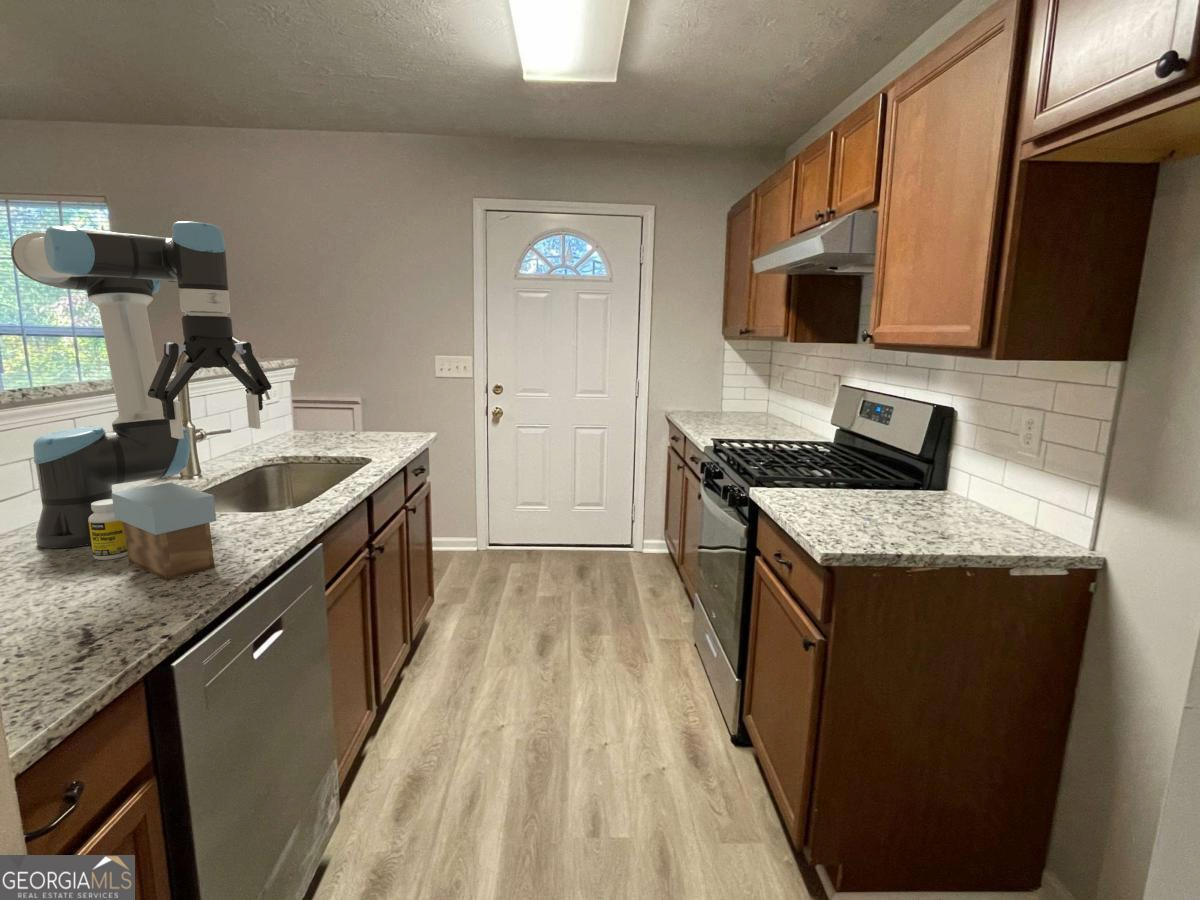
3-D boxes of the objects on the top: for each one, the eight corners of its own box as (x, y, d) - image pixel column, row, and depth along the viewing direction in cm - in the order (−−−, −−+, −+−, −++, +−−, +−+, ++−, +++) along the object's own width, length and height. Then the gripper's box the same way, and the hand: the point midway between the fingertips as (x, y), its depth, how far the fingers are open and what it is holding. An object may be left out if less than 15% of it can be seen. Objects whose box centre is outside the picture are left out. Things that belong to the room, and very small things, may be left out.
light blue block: (115, 524, 117) (111, 492, 116) (174, 512, 125) (170, 482, 124) (156, 541, 108) (152, 507, 107) (217, 526, 116) (213, 495, 115)
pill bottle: (89, 562, 119) (81, 507, 117) (97, 552, 124) (89, 499, 122) (129, 557, 121) (122, 503, 119) (135, 548, 127) (128, 496, 125)
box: (128, 562, 119) (122, 517, 117) (174, 550, 126) (169, 508, 124) (167, 580, 110) (161, 532, 109) (214, 567, 117) (209, 521, 115)
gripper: (135, 313, 97) (151, 445, 101) (285, 316, 118) (293, 426, 122) (113, 312, 101) (130, 439, 105) (263, 316, 122) (271, 422, 126)
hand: (218, 432), depth 114 cm, fingers open, 13 cm apart
